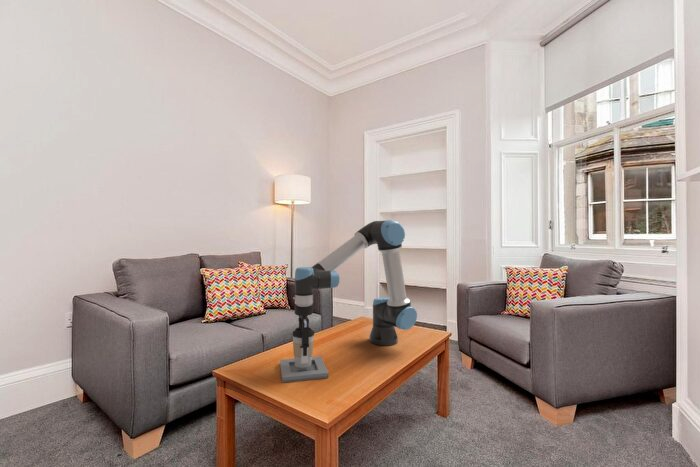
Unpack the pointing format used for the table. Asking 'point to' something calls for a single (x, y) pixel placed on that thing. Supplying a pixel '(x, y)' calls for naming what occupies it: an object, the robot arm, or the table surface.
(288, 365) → the frame
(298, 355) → the coffee cup
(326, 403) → the table surface
